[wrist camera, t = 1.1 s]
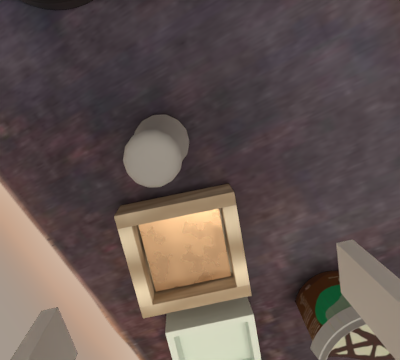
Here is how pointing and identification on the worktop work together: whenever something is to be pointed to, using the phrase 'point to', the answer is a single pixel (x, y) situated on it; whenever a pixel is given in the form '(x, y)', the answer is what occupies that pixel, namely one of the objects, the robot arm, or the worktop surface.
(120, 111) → the worktop surface
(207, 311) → the bin
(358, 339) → the food container
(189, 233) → the plate
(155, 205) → the beige square tray
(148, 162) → the salt shaker
